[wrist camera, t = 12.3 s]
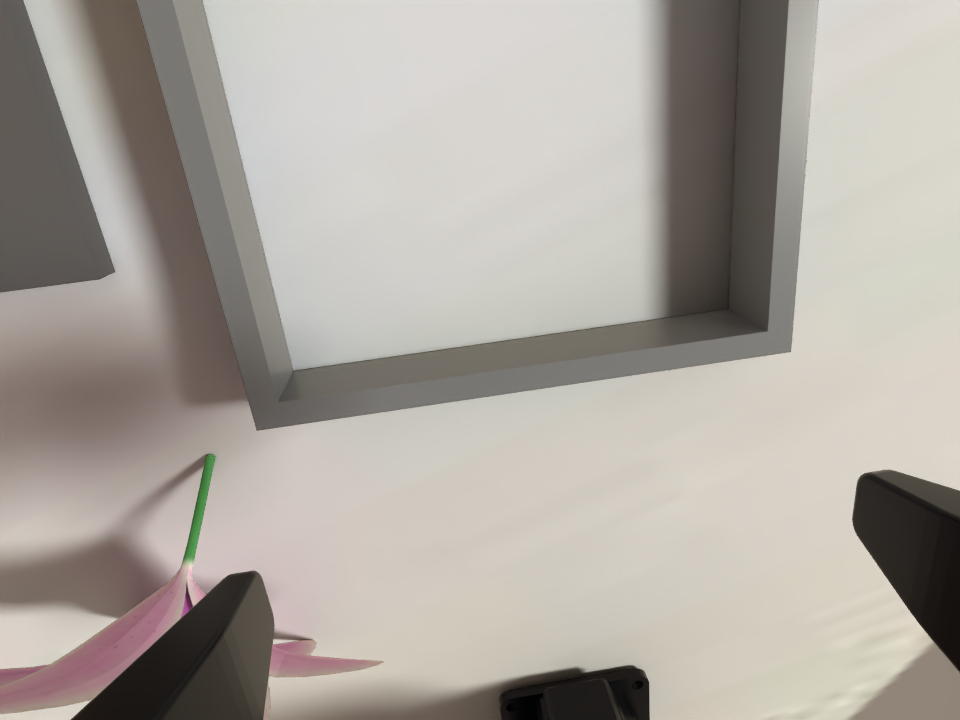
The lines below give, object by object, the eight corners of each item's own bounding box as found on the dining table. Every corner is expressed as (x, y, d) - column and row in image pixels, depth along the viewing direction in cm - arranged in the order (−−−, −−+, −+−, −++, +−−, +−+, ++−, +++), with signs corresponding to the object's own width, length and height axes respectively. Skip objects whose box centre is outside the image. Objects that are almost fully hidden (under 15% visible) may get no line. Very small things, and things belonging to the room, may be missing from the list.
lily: (-20, 511, 22) (-168, 849, 16) (52, 322, 15) (-152, 776, 9) (292, 559, 28) (271, 812, 22) (437, 441, 22) (463, 754, 16)
